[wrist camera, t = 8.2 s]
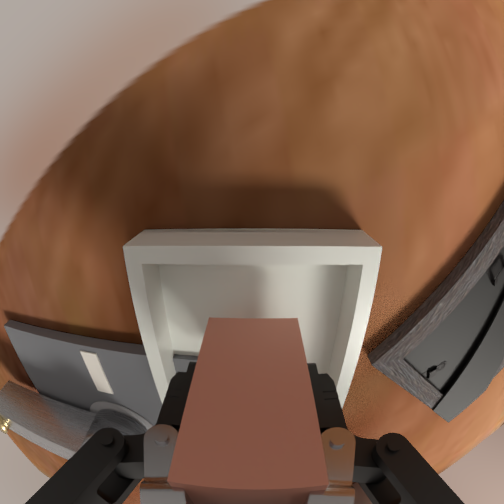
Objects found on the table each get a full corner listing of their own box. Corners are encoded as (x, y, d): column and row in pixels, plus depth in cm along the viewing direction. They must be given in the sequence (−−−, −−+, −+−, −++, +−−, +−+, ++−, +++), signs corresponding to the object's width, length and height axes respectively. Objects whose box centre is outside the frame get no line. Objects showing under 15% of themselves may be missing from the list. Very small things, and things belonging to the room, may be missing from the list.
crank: (140, 416, 17) (119, 474, 12) (156, 447, 19) (142, 497, 13) (4, 371, 17) (-22, 404, 12) (24, 403, 19) (3, 435, 14)
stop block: (297, 317, 12) (329, 484, 5) (291, 379, 14) (305, 517, 6) (208, 317, 12) (167, 481, 5) (215, 378, 14) (193, 515, 6)
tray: (361, 229, 13) (382, 246, 11) (332, 386, 17) (340, 414, 15) (144, 229, 14) (122, 246, 11) (173, 384, 17) (164, 411, 15)
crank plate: (236, 351, 16) (234, 363, 15) (242, 460, 21) (242, 469, 20) (10, 319, 16) (2, 326, 15) (69, 426, 22) (65, 433, 20)
